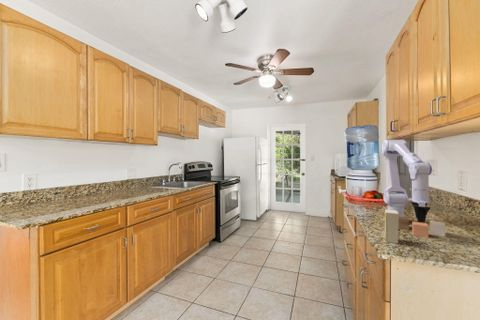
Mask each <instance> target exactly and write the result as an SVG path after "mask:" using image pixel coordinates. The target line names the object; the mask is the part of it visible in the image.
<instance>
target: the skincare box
mask: <svg viewBox="0 0 480 320" xmlns="http://www.w3.org/2000/svg"><path fill="white" fill-rule="evenodd" d="M398 222H399V213H398V212H397V210H387V209H384V241H385V242H386V243H393V244H397V245H398V244H399V229H398Z"/></svg>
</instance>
